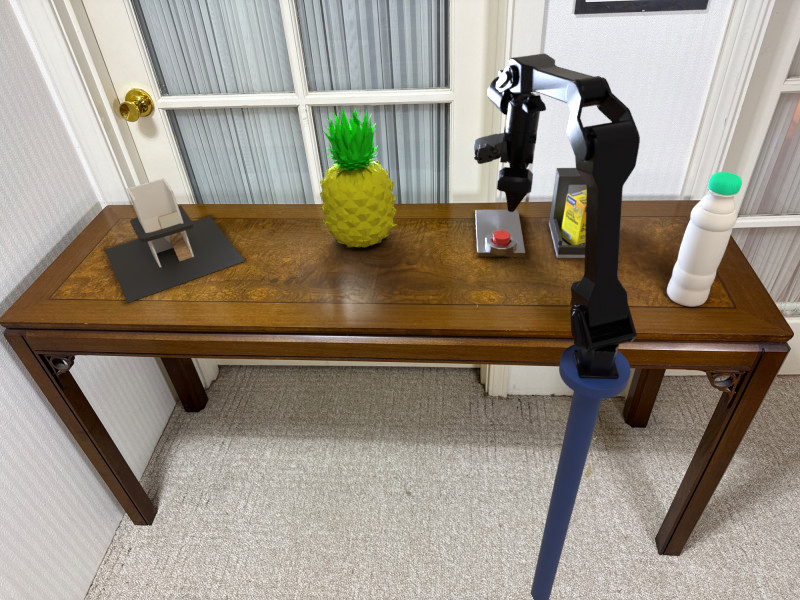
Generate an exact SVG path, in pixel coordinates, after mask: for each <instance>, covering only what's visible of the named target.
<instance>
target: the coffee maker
mask: <svg viewBox="0 0 800 600" xmlns="http://www.w3.org/2000/svg"><path fill="white" fill-rule="evenodd" d="M586 189H587V186H586V184H585V182H584V181H583V179H582V177H581V176H580V174H579V173H578V171H577V169H576V167H556V168H555V176H554V184H553V189H552V198H551V205H550V212H549V218H548V219H549V221H548V226H549V230H550V234H551V238H552V242H553V247H554V251H555V256H556V258H557V259H585V245H568V244H567V243H566V242H564V241H563V240H562V237H561V229H562V223H563V217H564V211H565V205H566V198H567V194H570V193H575V192H579V191H583V190H586Z"/></svg>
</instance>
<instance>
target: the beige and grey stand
mask: <svg viewBox="0 0 800 600" xmlns="http://www.w3.org/2000/svg"><path fill="white" fill-rule="evenodd" d="M126 191H127V193H128V196H129V199H130V201H131V204H132V207H133V209H134V212H135V214H136V217H134V218H131V219H130V220H129V222H130V226H131V228H132V229H133V231H134V233H135V235H136V237H137V239H134V240H130V241H126V242H124V243H120V244H118V245H114V246H111V247H108V248H105V249H104V250H105V251H104V252H105V253H106V255H107V258H108V261H109V263H110V266H111V267H112V271H113V272H114V275H115V277H116V279H117V283H118V284H119V287H120V289H121V292H122V294H123V297H124V299H125V301H126V303H127V304H130V303H133V302H134V301H138V300H141V299H143V298H146V297H148V296H151V295H153V294H156V293H160V292H162V291H165V290H168V289H171V288H174V287H176V286H180V285H182V284H185V283H188V282H190V281H193V280H196V279H199V278H201V277H204V276H207V275H210V274H213V273H215V272H219V271H222V270H223V269H227V268H230V267H233V266H235V265H238V264H240V263H244V262H245V259H244V258H243V256H241V254H240V252H239V251H238V250H237V249H236V248H235V246H234V245H233V244H232V242H231V241H230V240H229V238H228V237H227V236H226V234H225V233H224V232H223V230H222V229H221V228H220V227H219V225H218V224H217V223H216V221H215V220H214V219H213V217H212V216H205V217H203V218H199V219H197V220H192V219H191V217H190V216H189V214H187V212H186V211H185V209H184V207H183V206H182V205H180V204H178V202H177V199H176V196H175V193H174V190H173V188H172V187H171V186H170V184H169V182H168V181H167V180H166V178H165V177H163V178H160V179H155V180H152V181H149V182H145V183H142V184H138V185H135V186H131V187H127V188H126Z"/></svg>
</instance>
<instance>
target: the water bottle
mask: <svg viewBox="0 0 800 600" xmlns="http://www.w3.org/2000/svg"><path fill="white" fill-rule="evenodd" d="M742 185H743V180H742V178H741V177H740V176H739V175H738V174H736V173H733V172H728V171H717V172H714V173H713V174H712V175H711V176H710V178H709V180H708V183H707V191H708V193H707V194H705V195H704V196H703V197H702V198H701V200H699V201H698V202H697V203H696V204H695V205H694V207H693V208H692V210H691V212H690V215H689V217H690V220H689V221H688V224H687V226H686V229H685V232H684V234H683V237H682V240H681V243H680V247H679V251H678V255H677V260H676V262H675V264H674V266H673V269H672V273H671V277H670V279H669V281H668V284H667V288H666V294H667V296H668V297H669V299H670V300H671V301H672V302H674V303H676V304H678V305H680V306H684V307H690V308H691V307H692V308H693V307H699V306H701V305H703V304H705V303H706V301H707V300H708V298H709V295H710V291H711V287H712V285H713V283H714V282H715V280H716V279H715V278H716V276H717V270H718V268H719V266H720V264H721V262H722V259H723V257H724V255H725V252H726V250H727V247H728V244H729V241H730V238H731V234H732V231H733V228H734V227H735V225H736V223H737V221H738V214H737V210H736V202H735V200H734V197H736V196H737V195H739V192H740V190H741V188H742Z"/></svg>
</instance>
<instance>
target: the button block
mask: <svg viewBox="0 0 800 600" xmlns="http://www.w3.org/2000/svg"><path fill="white" fill-rule="evenodd" d="M474 216H475V217H474V218H475V236H476V237H475V238H476V257H477V258H525V257H526V249H525V244H524V238H523V232H522V226H521V219H520V214H519V209H515V211H514V212H509V211H508V209H475V212H474ZM499 230H504V231H507V232H509V233H510V243H509V244H508V245H504V246H499V245H496V244H494V243H493V233H494V232H496V231H499Z"/></svg>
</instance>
